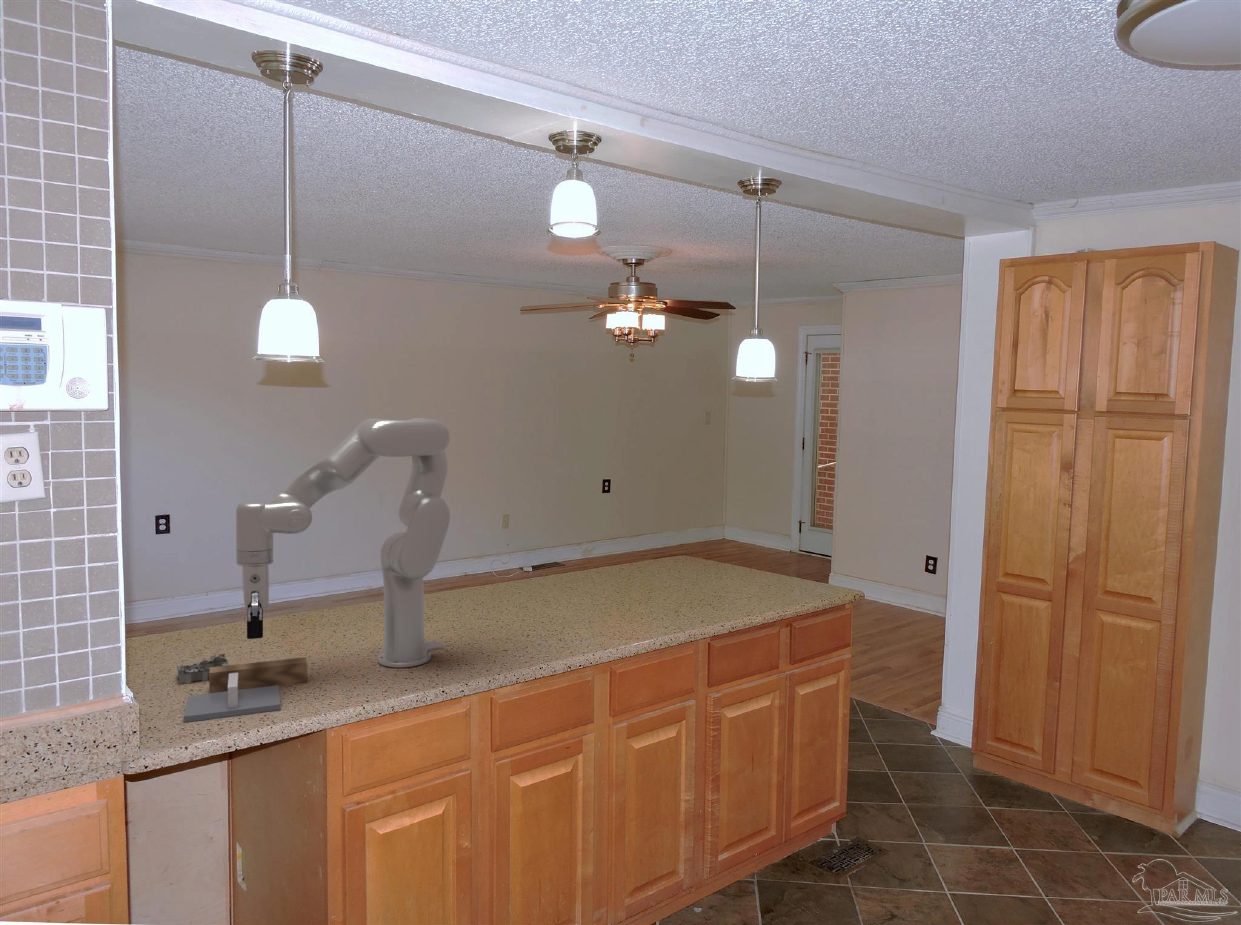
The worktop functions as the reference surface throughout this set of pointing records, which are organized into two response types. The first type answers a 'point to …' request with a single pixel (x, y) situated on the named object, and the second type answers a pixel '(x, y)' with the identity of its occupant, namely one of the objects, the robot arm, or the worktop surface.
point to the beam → (260, 674)
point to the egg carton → (200, 669)
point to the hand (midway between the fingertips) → (255, 632)
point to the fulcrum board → (221, 703)
